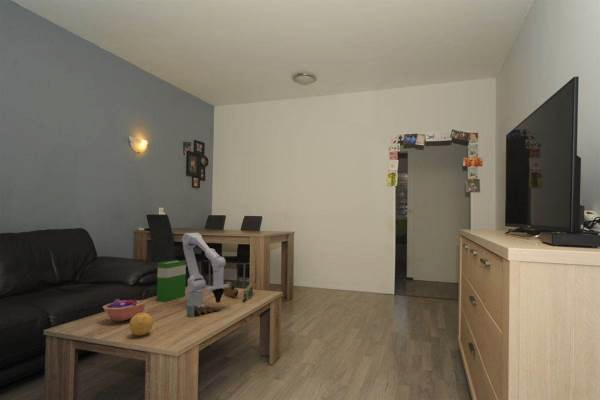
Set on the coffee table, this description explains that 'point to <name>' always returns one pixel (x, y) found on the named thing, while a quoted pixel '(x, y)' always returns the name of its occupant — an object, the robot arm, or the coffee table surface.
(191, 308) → the domino
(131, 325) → the stress ball
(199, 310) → the domino
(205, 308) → the domino
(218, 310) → the domino
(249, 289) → the handheld radio
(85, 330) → the coffee table surface
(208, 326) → the coffee table surface
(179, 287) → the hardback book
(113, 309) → the cell model
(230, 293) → the wooden carving
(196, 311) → the domino
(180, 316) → the coffee table surface
